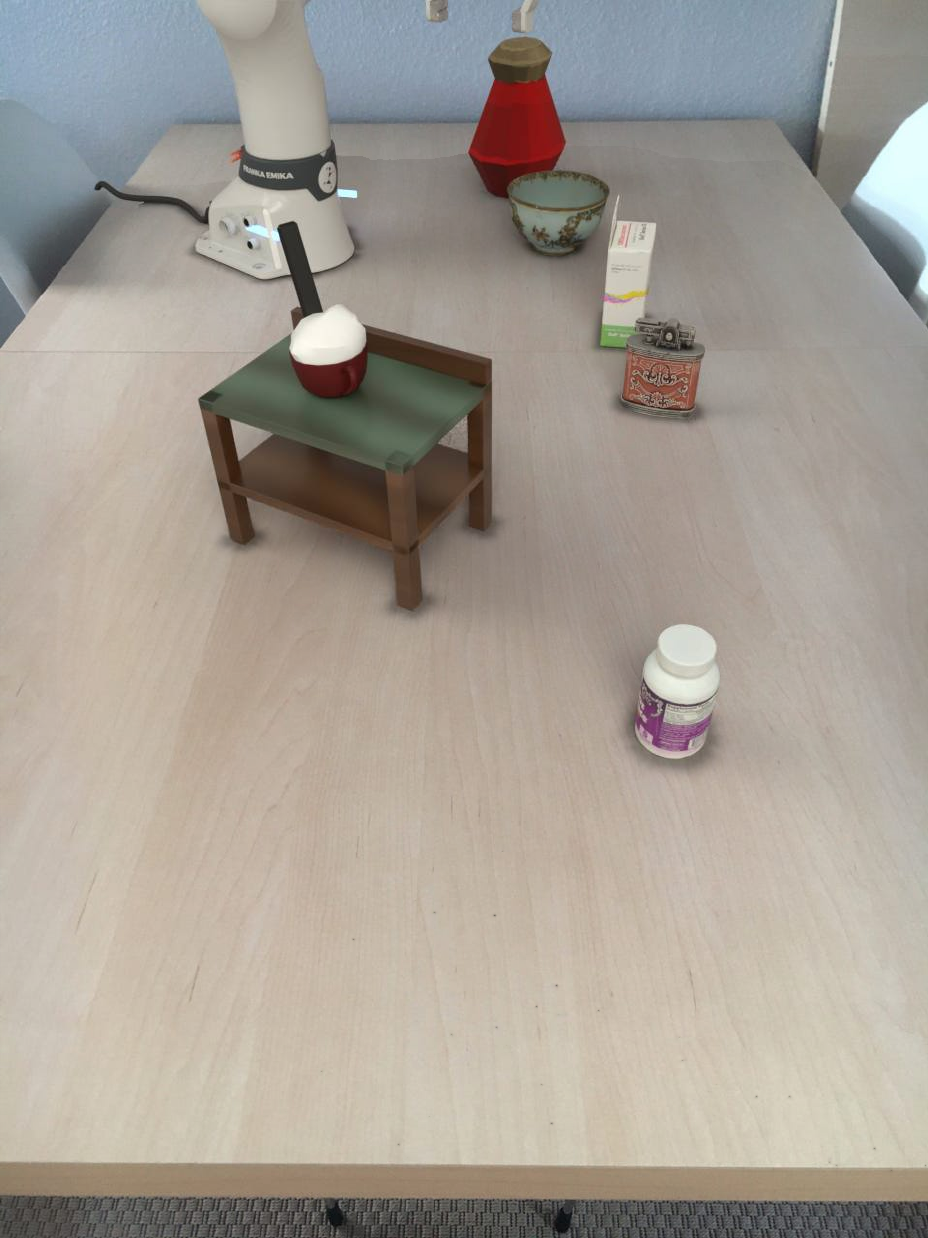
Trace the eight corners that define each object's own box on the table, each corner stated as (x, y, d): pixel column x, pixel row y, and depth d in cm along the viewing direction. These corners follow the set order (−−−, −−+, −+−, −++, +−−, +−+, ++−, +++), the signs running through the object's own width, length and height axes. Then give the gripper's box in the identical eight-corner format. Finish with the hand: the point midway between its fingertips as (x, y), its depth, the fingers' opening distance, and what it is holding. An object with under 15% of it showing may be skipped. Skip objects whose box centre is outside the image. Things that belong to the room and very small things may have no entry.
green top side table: (412, 611, 84) (400, 443, 73) (230, 540, 92) (192, 376, 80) (492, 522, 93) (492, 358, 81) (319, 463, 100) (296, 305, 89)
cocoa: (374, 411, 79) (360, 266, 71) (296, 418, 79) (272, 273, 71) (366, 353, 86) (352, 215, 78) (293, 360, 86) (272, 221, 77)
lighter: (697, 405, 107) (711, 319, 100) (691, 421, 105) (705, 334, 98) (623, 393, 109) (632, 308, 102) (616, 409, 107) (625, 323, 100)
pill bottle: (627, 709, 76) (640, 618, 69) (695, 704, 76) (714, 613, 70) (642, 765, 72) (657, 674, 65) (714, 759, 72) (736, 668, 66)
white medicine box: (641, 350, 116) (656, 224, 106) (598, 347, 117) (609, 221, 106) (646, 316, 122) (660, 194, 112) (606, 313, 123) (616, 191, 112)
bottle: (519, 163, 161) (522, 22, 147) (583, 184, 154) (592, 38, 140) (449, 190, 153) (446, 44, 139) (513, 213, 146) (516, 62, 132)
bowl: (491, 259, 135) (491, 199, 129) (524, 221, 143) (526, 164, 138) (588, 274, 131) (592, 213, 125) (616, 234, 140) (621, 176, 134)
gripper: (358, -157, 88) (371, 21, 97) (567, -146, 80) (558, 46, 90) (396, -165, 92) (405, 7, 101) (599, -156, 84) (588, 29, 94)
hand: (479, 25), depth 95 cm, fingers open, 8 cm apart
